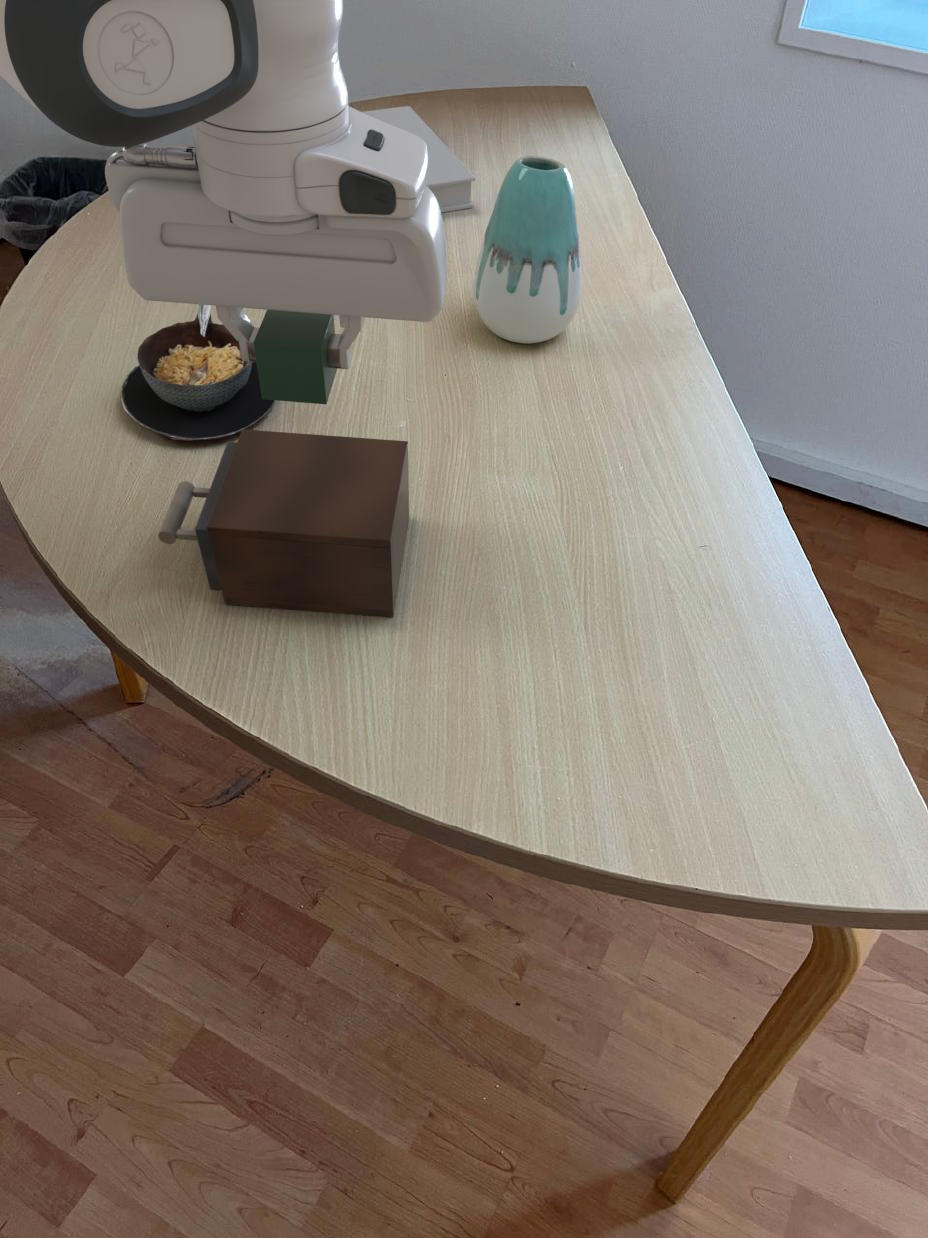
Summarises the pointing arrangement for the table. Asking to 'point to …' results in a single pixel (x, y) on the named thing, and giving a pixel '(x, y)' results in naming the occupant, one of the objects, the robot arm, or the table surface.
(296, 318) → the block
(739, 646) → the table surface
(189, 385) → the soup bowl
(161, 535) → the drawer
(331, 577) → the cabinet
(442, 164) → the book
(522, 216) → the vase
